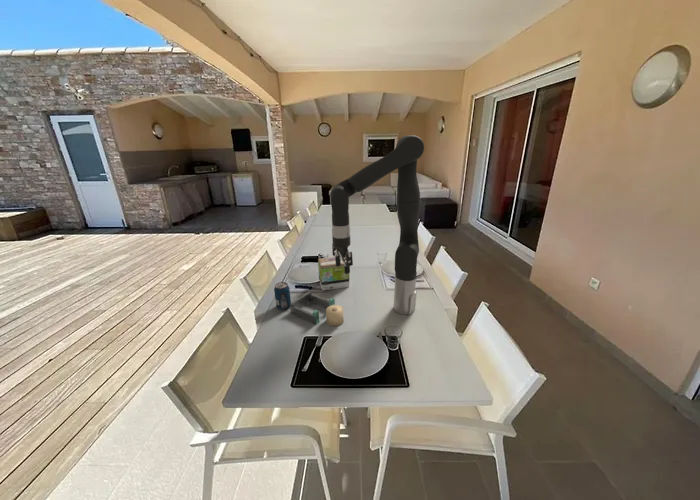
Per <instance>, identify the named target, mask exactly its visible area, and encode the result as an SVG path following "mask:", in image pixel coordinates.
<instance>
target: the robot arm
mask: <svg viewBox="0 0 700 500" xmlns="http://www.w3.org/2000/svg"><path fill="white" fill-rule="evenodd" d="M424 152H425V144H424V141H423V140H422V138H421V137H419V136H417V135H413V134H411V135H410V134H408V135H403V136H402V137H400V139H398V141H397V143H396V147H395V148H394V149H393V150H392V151H390V152H389V153H388V154H385V156H383V157H381V158H379V159H378V160H376V161H374V162H372V163H370V164H368V165H366V166H365V167H363V168H361V169H360V170H358V171H357V172H355V173H354V174H352V175H351V176H350V177H348V178H346V179H344V180H342V181H340V182H339V183H337V184H336V185H334V186H333V187H332V188H331V190H330V205H331V211H332V212H331V224H332V225H331V226H332V227H331V235H332V242H331V243H332V244H331V245H332V246H331V247H332V249H331V250H332V252H331V253H332V257H334V258H335V261H336V266H337V267H338V266H340V265H341V260H342V261H343V263H344V270H345V274H348V273H349V274H350V273H351V268H350V267H351V266H353V265H354V262H353V252H352V251H349V249H348V248H349V247H350V246H351V242H352V241H351V226H350V213H349V210H350V209H349V208H350V207H349V206H350V205H349V203H350V201H349V200H350V199H349V198H350V197H352V196H353V195H355V194H356V193H361V192H363V191H365V190H366V189H368V188H369V187H371V186H372V185H374V184H375V183H377V182H378V181H380V180H381V179H382V178H384V177H385V176H387V175H389V174H390V173H392V172H395V170H397V185H396V215H397V219H398V223H399V231H400V232H399V243H398V246H397V247H396V251H395V253H394V272H395V274H394V295H393V310H394V311H395V312H396V313H397V314H400V315H409V316H411V314H412V313H414V311H415V310H416V306H417V305H416V303H417V290H416V285H417V266H418V264H417V263H418V256H419V253H420V247H419V245H420V244H419V234H418V233H419V232H418V228H419V221H420V208H421V192H420V187H419V181H418V176H417V174H418V173H417V165H418V160H420V158H421V157H422V155H423V153H424ZM339 257H341V259H340V258H339ZM344 258H345V259H344ZM345 261H346V262H345Z"/></svg>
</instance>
